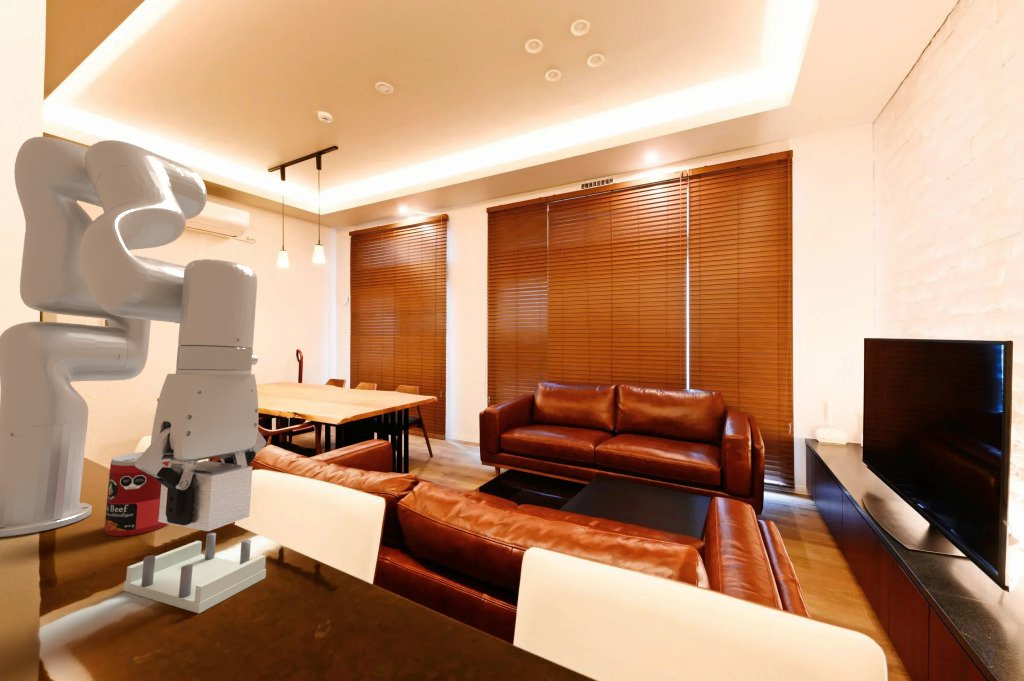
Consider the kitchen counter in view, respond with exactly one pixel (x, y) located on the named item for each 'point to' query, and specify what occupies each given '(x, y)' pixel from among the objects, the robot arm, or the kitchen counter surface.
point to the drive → (216, 495)
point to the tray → (194, 575)
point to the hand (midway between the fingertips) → (205, 513)
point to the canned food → (132, 498)
